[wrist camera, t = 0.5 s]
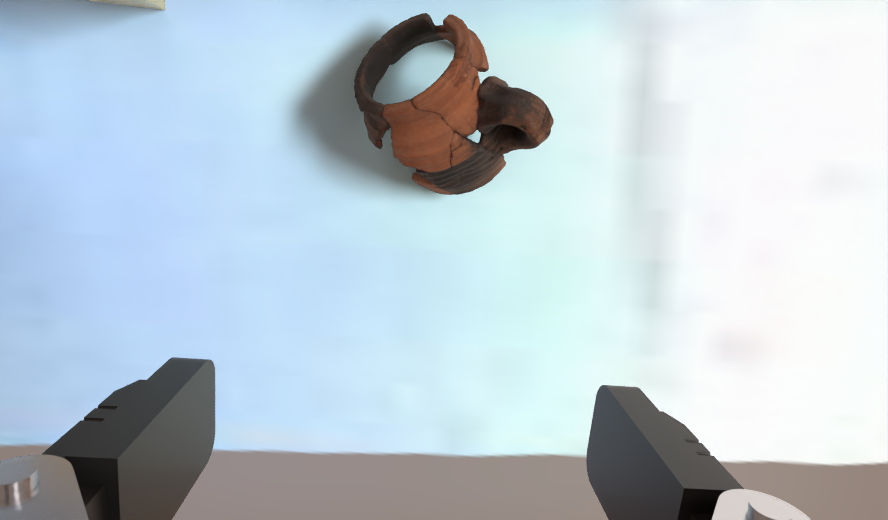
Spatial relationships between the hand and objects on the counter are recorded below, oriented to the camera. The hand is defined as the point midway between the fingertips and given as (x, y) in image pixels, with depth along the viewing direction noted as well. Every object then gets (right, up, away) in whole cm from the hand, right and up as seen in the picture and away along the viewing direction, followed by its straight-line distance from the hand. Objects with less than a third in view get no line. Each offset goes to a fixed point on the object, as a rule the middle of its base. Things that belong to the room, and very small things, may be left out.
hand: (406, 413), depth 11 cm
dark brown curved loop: (+4, +11, +25) cm, 27 cm away
